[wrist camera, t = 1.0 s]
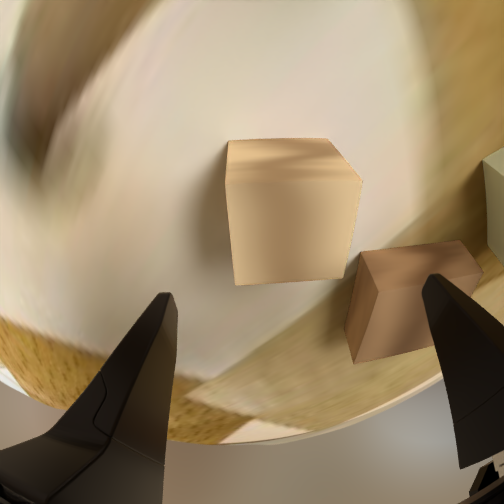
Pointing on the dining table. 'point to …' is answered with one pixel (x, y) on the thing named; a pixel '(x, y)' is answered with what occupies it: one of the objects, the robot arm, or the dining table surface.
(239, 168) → the oak cube
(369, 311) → the base block
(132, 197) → the dining table surface
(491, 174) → the block
